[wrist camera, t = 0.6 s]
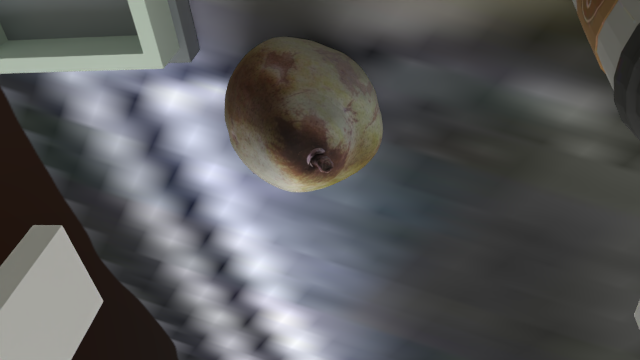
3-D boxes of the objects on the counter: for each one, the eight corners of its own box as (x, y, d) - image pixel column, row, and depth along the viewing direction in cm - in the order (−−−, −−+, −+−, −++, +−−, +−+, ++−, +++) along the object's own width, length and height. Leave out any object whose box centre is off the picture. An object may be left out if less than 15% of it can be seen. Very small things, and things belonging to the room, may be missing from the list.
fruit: (411, 76, 37) (413, 184, 27) (334, 165, 42) (313, 281, 33) (283, -12, 34) (236, 73, 25) (218, 94, 40) (158, 198, 30)
